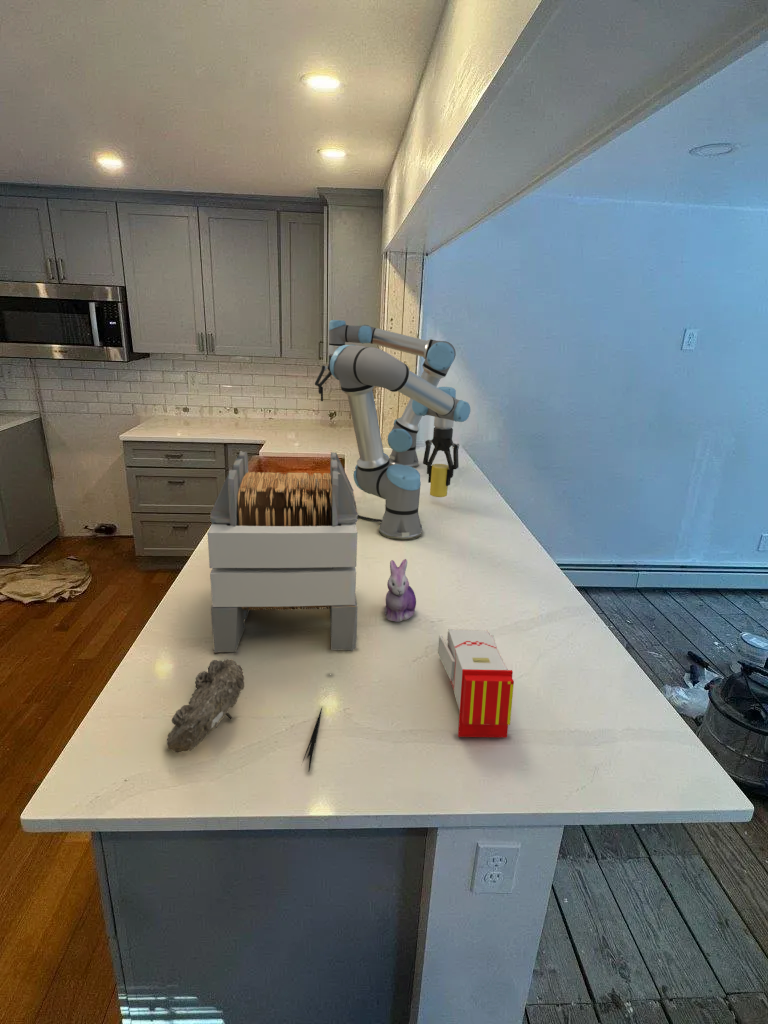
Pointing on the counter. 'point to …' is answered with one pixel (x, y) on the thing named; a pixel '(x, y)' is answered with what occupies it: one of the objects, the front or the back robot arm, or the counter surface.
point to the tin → (438, 480)
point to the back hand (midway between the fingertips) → (336, 401)
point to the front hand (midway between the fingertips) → (439, 483)
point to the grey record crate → (283, 549)
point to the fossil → (206, 705)
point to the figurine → (399, 594)
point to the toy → (478, 682)
